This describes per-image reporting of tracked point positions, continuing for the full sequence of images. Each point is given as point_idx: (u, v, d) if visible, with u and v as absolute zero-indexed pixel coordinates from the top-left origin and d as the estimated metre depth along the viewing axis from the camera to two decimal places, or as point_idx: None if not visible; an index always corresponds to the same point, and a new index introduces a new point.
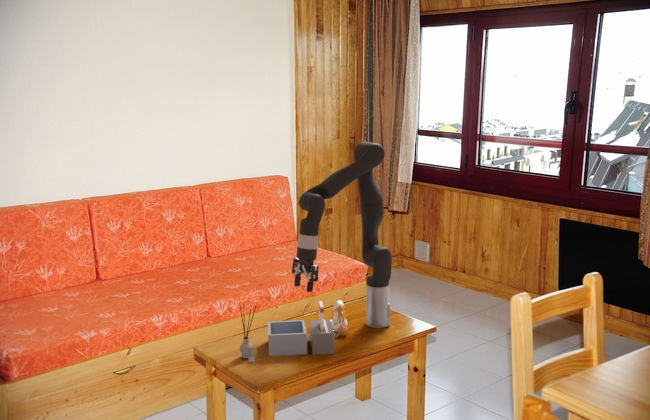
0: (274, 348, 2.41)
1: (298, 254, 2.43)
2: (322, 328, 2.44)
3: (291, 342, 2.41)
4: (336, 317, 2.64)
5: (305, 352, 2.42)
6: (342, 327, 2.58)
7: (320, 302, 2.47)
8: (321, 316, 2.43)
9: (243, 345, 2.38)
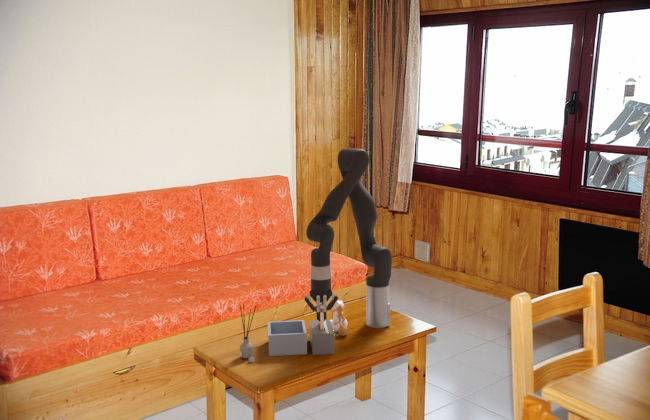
0: (274, 348, 2.41)
1: (322, 286, 2.40)
2: (322, 328, 2.44)
3: (291, 342, 2.41)
4: (336, 317, 2.64)
5: (305, 352, 2.42)
6: (342, 327, 2.58)
7: None
8: (321, 316, 2.43)
9: (243, 345, 2.38)
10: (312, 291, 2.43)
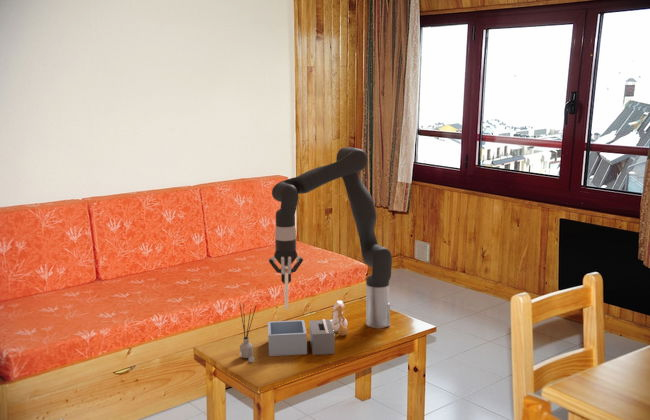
0: (274, 348, 2.41)
1: (286, 247, 2.37)
2: (286, 289, 2.41)
3: (291, 342, 2.41)
4: (336, 317, 2.64)
5: (305, 352, 2.42)
6: (342, 327, 2.58)
7: None
8: (286, 276, 2.40)
9: (243, 345, 2.38)
10: (277, 252, 2.40)
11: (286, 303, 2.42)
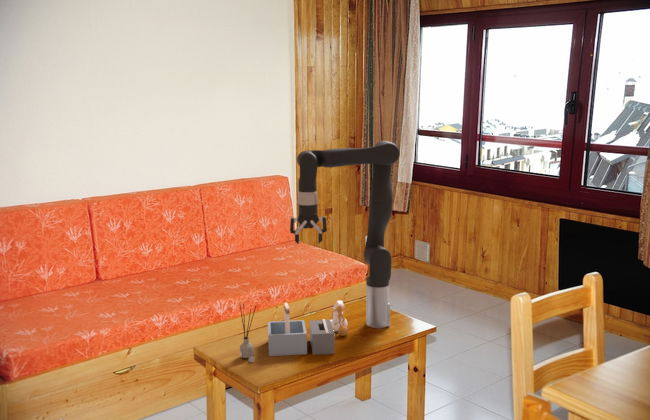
0: (274, 348, 2.41)
1: (309, 211, 2.53)
2: (288, 329, 2.43)
3: (291, 342, 2.41)
4: (336, 317, 2.64)
5: (305, 352, 2.42)
6: (342, 327, 2.58)
7: (285, 303, 2.46)
8: (287, 317, 2.42)
9: (243, 345, 2.38)
10: (299, 217, 2.56)
11: None
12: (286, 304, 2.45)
